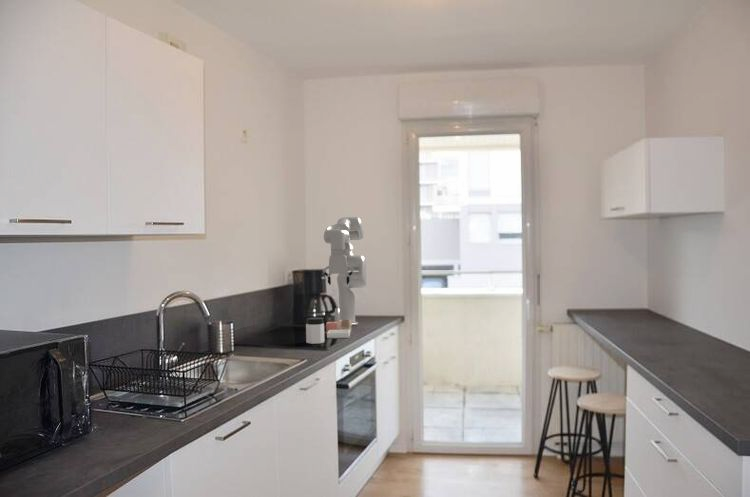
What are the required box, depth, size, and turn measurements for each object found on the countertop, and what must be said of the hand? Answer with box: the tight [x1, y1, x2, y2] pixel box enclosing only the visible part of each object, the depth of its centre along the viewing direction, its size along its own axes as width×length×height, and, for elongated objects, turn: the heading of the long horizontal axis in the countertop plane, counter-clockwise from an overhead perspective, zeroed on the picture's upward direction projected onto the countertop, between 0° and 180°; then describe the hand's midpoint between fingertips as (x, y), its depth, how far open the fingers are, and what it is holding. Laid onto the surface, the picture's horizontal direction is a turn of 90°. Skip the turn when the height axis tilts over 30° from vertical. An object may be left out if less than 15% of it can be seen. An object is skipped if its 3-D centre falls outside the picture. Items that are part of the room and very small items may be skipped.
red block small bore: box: [325, 321, 338, 335], centre depth 326 cm, size 6×6×6 cm
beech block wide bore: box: [340, 320, 352, 333], centre depth 333 cm, size 6×6×6 cm
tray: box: [326, 330, 351, 339], centre depth 315 cm, size 11×11×3 cm
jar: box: [305, 317, 325, 345], centre depth 297 cm, size 9×8×12 cm
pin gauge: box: [334, 307, 340, 330], centre depth 341 cm, size 3×3×12 cm
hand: (338, 284), depth 325 cm, fingers open, 9 cm apart
